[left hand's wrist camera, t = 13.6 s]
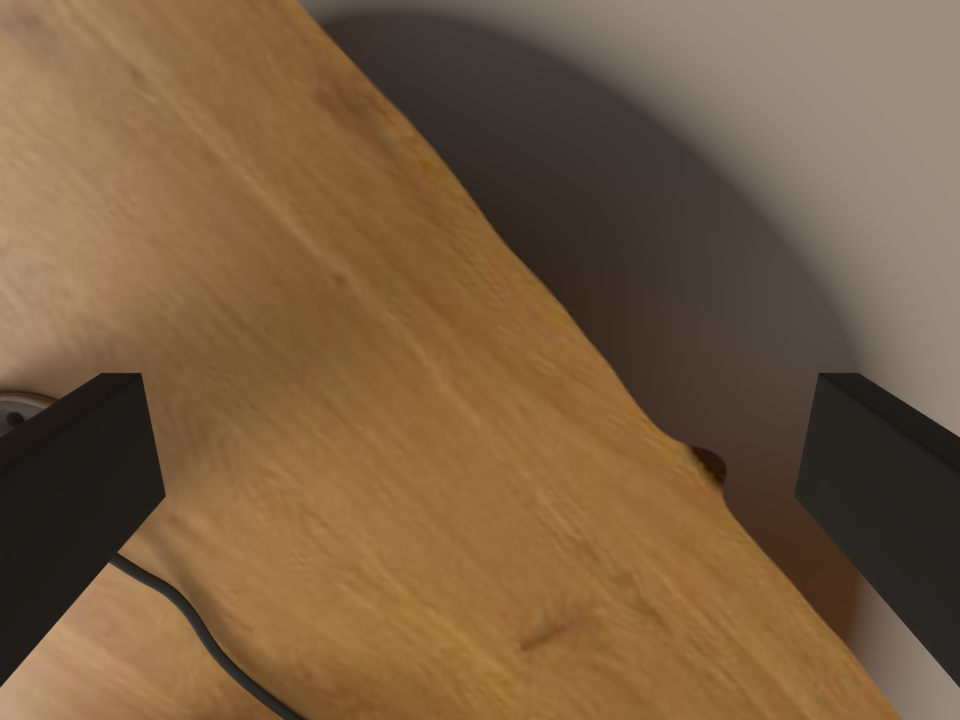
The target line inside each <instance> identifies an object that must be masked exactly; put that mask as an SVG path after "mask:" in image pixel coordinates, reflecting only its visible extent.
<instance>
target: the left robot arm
mask: <svg viewBox="0 0 960 720" xmlns="http://www.w3.org/2000/svg"><path fill="white" fill-rule="evenodd" d="M165 496H166V495H165V490H164V485H163V480H162V475H161V470H160V465H159V460H158V455H157V450H156V445H155V440H154V435H153V430H152V425H151V420H150V415H149V410H148V405H147V400H146V395H145V390H144V385H143V380H142V375H141V373H101V374H99V375H98V376H96V377H95V378H93V379H91V380H90V381H88V382H87V383H85V384H84V385H82V386H80V387H79V388H77V389H76V390H74V391H73V392H71V393H69V394H68V395H66V396H65V397H63V398H61V399H60V400H58V401H57V400H54V399H51V398H48V397H44V396H40V395H36V394H30V393H21V392H5V393H0V687H1V686H2V685H3V684H4V683H5V681H6V680H7V679H8V678H9V677H10V676H11V675H12V673H13V672H14V671H15V670H16V669H17V668H18V666H19V665H20V664H21V663H22V662H23V661H24V659H25V658H26V657H27V656H28V655H29V654H30V653H31V651H32V650H33V649H34V648H35V647H36V646H37V644H38V643H39V642H40V641H41V640H42V639H43V638H44V636H45V635H46V634H47V633H48V632H49V631H50V629H51V628H52V627H53V626H54V625H55V624H56V622H57V621H58V620H59V619H60V618H61V617H62V616H63V614H64V613H65V612H66V611H67V610H68V609H69V607H70V606H71V605H72V604H73V603H74V602H75V601H76V599H77V598H78V597H79V596H80V595H81V594H82V592H83V591H84V590H85V589H86V588H87V587H88V585H89V584H90V583H91V582H92V581H93V580H94V579H95V577H96V576H97V575H98V574H99V573H100V572H101V570H102V569H103V568H104V567H105V566H106V565H107V564H108V562H109V563H111V564H112V565H114V566H115V567H117V568H119V569H120V570H122V571H123V572H125V573H126V574H128V575H130V576H131V577H133V578H135V579H136V580H138V581H140V582H142V583H143V584H145V585H147V586H149V587H151V588H153V589H155V590H157V591H158V592H160V593H162V594H163V595H164V596H166V597H167V598H168V599H169V600H171V601H172V602H173V603H174V604H175V605H176V606H177V607H178V608H179V609H180V611H181V612H182V613H183V614H184V615H185V617H186V618H187V619H188V621H189V622H190V624H191V625H192V627H193V628H194V630H195V632H196V633H197V635H198V637H199V638H200V640H201V641H202V643H203V644H204V646H205V647H206V649H207V650H208V651H209V653H210V654H211V655H212V657H213V658H214V659H215V660H216V661H217V663H218V664H219V665H220V666H221V667H222V668H223V669H224V670H225V671H226V672H227V673H228V674H229V675H230V676H231V677H232V678H233V679H234V680H235V681H237V682H238V683H239V684H240V685H241V686H242V687H243V688H244V689H246V690H247V691H248V692H249V693H250V694H252V695H253V696H254V697H255V698H257V699H258V700H259V701H261V702H262V703H263V704H265V705H266V706H267V707H268V708H270V709H271V710H272V711H274V712H275V713H276V714H278V715H279V716H280V717H282V718H283V719H284V720H303V719H302V718H300V717H299V716H298V715H296V714H295V713H294V712H292V711H291V710H290V709H288V708H287V707H286V706H285V705H283V704H282V703H281V702H279V701H278V700H277V699H275V698H274V697H273V696H272V695H270V694H269V693H268V692H266V691H265V690H264V689H263V688H261V687H260V686H259V685H258V684H256V683H255V682H254V681H253V680H252V679H250V678H249V677H248V676H247V675H246V674H245V673H244V672H243V671H242V670H241V669H239V668H238V667H237V666H236V665H235V664H234V663H233V662H232V661H231V660H230V659H229V657H228V656H227V655H226V654H225V653H224V652H223V651H222V650H221V648H220V647H219V646H218V644H217V643H216V642H215V640H214V639H213V637H212V635H211V634H210V632H209V631H208V629H207V627H206V626H205V624H204V622H203V621H202V619H201V618H200V616H199V615H198V613H197V612H196V610H195V609H194V608H193V607H192V605H191V604H190V603H189V602H188V601H187V600H186V598H185V597H184V596H183V595H182V594H181V593H180V592H179V591H177V590H176V589H175V588H174V587H173V586H171V585H170V584H168V583H167V582H165V581H163V580H162V579H160V578H158V577H156V576H154V575H152V574H151V573H149V572H147V571H145V570H143V569H142V568H140V567H139V566H137V565H135V564H134V563H132V562H131V561H129V560H128V559H126V558H125V557H123V556H121V555H120V554H118V553H117V552H118V551H119V550H120V548H121V547H122V546H123V545H124V544H125V543H126V542H127V540H128V539H129V538H130V537H131V536H132V535H133V533H134V532H135V531H136V530H137V529H138V528H139V527H140V525H141V524H142V523H143V522H144V521H145V520H146V518H147V517H148V516H149V515H150V514H151V513H152V511H153V510H154V509H155V508H156V507H157V506H158V505H159V503H160V502H161V501H162V500H163V499H164V498H165ZM794 496H795V498H796V499H797V500H798V501H799V502H800V503H801V504H802V506H803V507H804V508H805V509H806V510H807V511H808V513H809V514H810V515H811V516H812V517H813V518H814V519H815V521H816V522H817V523H818V524H819V525H820V527H821V528H822V529H823V530H824V531H825V532H826V533H827V534H828V536H829V537H830V538H831V539H832V540H833V542H834V543H835V544H836V545H837V546H838V547H839V548H840V550H841V551H842V552H843V553H844V554H845V555H846V557H847V558H848V559H849V560H850V561H851V562H852V563H853V565H854V566H855V567H856V568H857V569H858V570H859V572H860V573H861V574H862V575H863V576H864V577H865V579H866V580H867V581H868V582H869V583H870V584H871V585H872V587H873V588H874V589H875V590H876V591H877V592H878V593H879V595H880V596H881V597H882V598H883V599H884V601H885V602H886V603H887V604H888V605H889V606H890V607H891V609H892V610H893V611H894V612H895V613H896V614H897V615H898V617H899V618H900V619H901V620H902V621H903V622H904V624H905V625H906V626H907V627H908V628H909V629H910V631H911V632H912V633H913V634H914V635H915V636H916V637H917V639H918V640H919V641H920V642H921V643H922V644H923V646H924V647H925V648H926V649H927V650H928V651H929V652H930V654H931V655H932V656H933V657H934V658H935V659H936V661H937V662H938V663H939V664H940V665H941V666H942V668H943V669H944V670H945V671H946V672H947V673H948V674H949V676H950V677H951V678H952V679H953V680H954V681H955V683H956V684H957V685H958V686H959V687H960V437H958V436H957V435H955V434H954V433H952V432H950V431H949V430H947V429H946V428H944V427H943V426H941V425H939V424H938V423H936V422H935V421H933V420H932V419H930V418H928V417H927V416H925V415H924V414H922V413H921V412H919V411H917V410H916V409H914V408H913V407H911V406H909V405H908V404H906V403H905V402H903V401H902V400H900V399H898V398H897V397H895V396H894V395H892V394H891V393H889V392H887V391H886V390H884V389H883V388H881V387H880V386H878V385H876V384H875V383H873V382H872V381H870V380H869V379H867V378H865V377H864V376H862V375H861V374H859V373H819V375H818V380H817V385H816V390H815V395H814V400H813V405H812V410H811V415H810V420H809V425H808V430H807V435H806V440H805V445H804V450H803V455H802V460H801V465H800V470H799V475H798V480H797V485H796V490H795V495H794Z"/></svg>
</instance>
